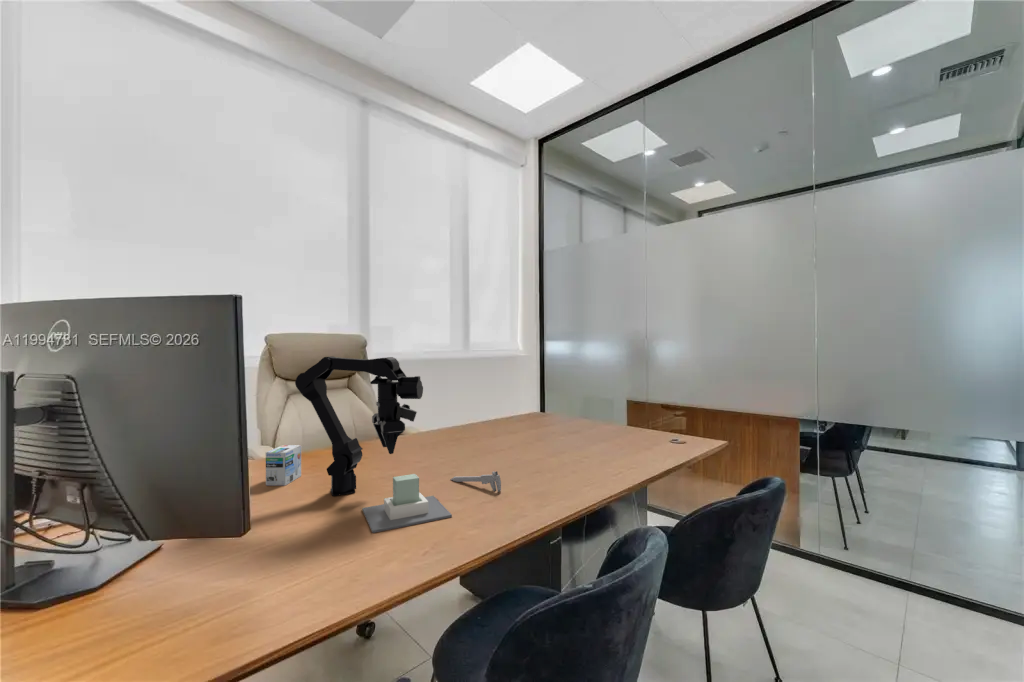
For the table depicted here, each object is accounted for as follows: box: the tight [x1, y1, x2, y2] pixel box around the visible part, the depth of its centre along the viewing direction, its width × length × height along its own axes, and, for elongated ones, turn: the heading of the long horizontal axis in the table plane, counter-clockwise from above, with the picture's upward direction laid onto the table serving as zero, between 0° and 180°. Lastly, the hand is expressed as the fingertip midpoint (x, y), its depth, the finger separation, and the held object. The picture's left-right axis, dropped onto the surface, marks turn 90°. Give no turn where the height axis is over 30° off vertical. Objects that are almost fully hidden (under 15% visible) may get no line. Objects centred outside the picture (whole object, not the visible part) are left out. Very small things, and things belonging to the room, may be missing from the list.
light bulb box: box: [265, 444, 302, 486], centre depth 144 cm, size 11×7×11 cm, turn 179°
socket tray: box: [361, 492, 453, 534], centre depth 116 cm, size 20×16×4 cm
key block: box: [392, 473, 420, 506], centre depth 116 cm, size 4×6×9 cm, turn 118°
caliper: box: [450, 470, 502, 493], centre depth 138 cm, size 20×1×6 cm, turn 54°
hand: (388, 450), depth 131 cm, fingers open, 9 cm apart
